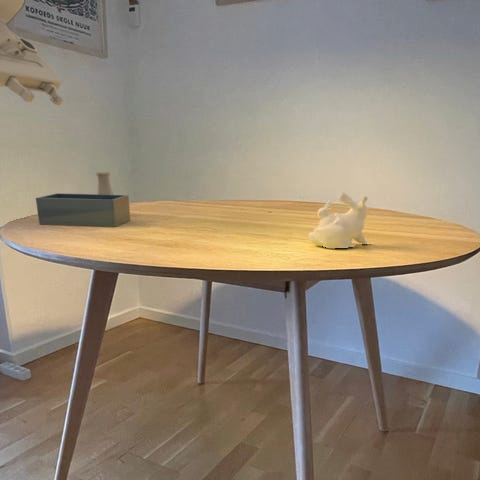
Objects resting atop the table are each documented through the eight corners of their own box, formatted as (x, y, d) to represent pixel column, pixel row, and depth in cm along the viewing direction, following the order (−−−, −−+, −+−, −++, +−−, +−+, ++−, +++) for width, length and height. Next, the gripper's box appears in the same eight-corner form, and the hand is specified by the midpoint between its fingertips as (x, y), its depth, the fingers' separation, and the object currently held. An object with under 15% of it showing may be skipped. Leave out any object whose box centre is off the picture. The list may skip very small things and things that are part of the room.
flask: (89, 218, 109) (85, 173, 106) (92, 213, 116) (88, 171, 112) (121, 217, 111) (118, 173, 107) (122, 213, 117) (119, 171, 114)
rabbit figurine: (371, 243, 87) (377, 189, 83) (381, 252, 80) (388, 194, 76) (306, 242, 87) (309, 188, 83) (311, 251, 80) (315, 193, 76)
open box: (39, 224, 101) (35, 197, 99) (59, 217, 110) (56, 193, 108) (115, 227, 99) (113, 200, 97) (130, 220, 108) (128, 195, 106)
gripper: (-34, 26, 88) (18, 83, 89) (38, 46, 106) (81, 93, 107) (-48, 54, 91) (3, 109, 92) (25, 69, 109) (66, 114, 110)
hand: (45, 101), depth 100 cm, fingers open, 8 cm apart
